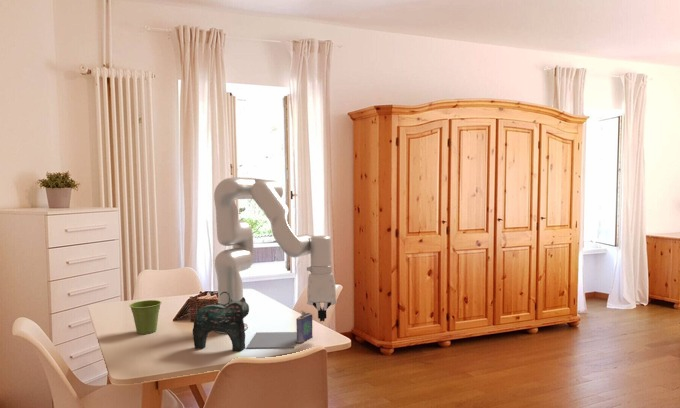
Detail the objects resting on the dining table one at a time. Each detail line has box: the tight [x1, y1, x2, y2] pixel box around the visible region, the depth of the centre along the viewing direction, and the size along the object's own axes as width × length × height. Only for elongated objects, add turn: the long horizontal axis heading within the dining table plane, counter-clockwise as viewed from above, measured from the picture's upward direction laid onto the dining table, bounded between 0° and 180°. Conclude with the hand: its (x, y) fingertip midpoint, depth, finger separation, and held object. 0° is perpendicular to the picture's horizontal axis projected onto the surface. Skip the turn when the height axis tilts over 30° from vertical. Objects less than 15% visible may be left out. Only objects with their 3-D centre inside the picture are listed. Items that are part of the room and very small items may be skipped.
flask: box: [295, 310, 313, 345], centre depth 182 cm, size 9×3×11 cm, turn 153°
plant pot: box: [129, 299, 162, 335], centre depth 196 cm, size 12×12×11 cm
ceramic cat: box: [192, 292, 250, 352], centre depth 173 cm, size 20×6×20 cm, turn 77°
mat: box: [245, 331, 297, 350], centre depth 182 cm, size 16×18×1 cm
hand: (322, 320), depth 181 cm, fingers closed
